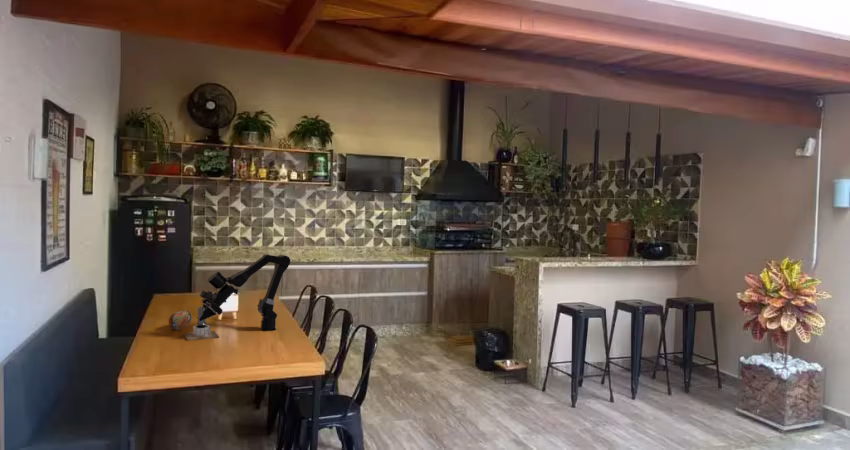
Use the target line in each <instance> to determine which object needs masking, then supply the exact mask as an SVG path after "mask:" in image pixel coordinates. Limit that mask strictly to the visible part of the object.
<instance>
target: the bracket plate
mask: <svg viewBox="0 0 850 450" xmlns="http://www.w3.org/2000/svg"><path fill="white" fill-rule="evenodd" d="M183 336H184V338H185V340H186V341H198V340H199V341H200V340H208V339H209V340H210V339H218V338H220V337H219V335H218V334H217V332H216V331H215V330H210V335H208V336H202V337H196V336H193V332H186V333H183Z"/></svg>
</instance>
